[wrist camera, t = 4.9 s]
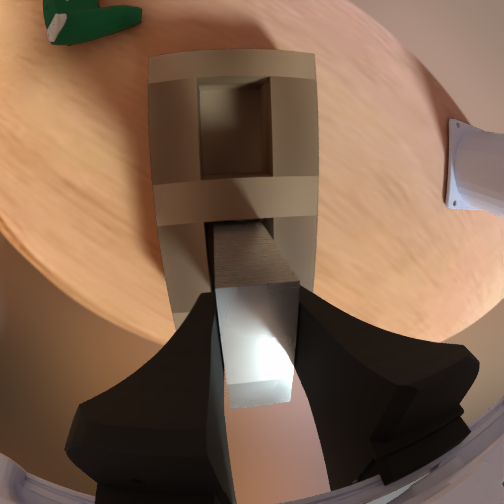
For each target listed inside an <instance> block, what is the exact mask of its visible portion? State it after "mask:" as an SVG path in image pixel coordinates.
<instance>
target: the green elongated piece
mask: <svg viewBox="0 0 504 504" xmlns="http://www.w3.org/2000/svg"><path fill="white" fill-rule="evenodd" d="M43 13H44V19H45V25H46V27H47V37H48V39H49V41H50V42H51V44H53V45H67V46H71V45H73V44H79V43H83V42H87V41H91V40H94V39H97V38H100V37H103V36H106V35H110V34H113V33H116V32H118V31H121V30H123V29H126V28H128V27H131V26H134V25H136V24H138V23H141V15H142V9H141V8H138V7H132V6H111V7H104V8H99V4H98V0H43Z"/></svg>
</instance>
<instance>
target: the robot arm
mask: <svg viewBox="0 0 504 504" xmlns="http://www.w3.org/2000/svg"><path fill="white" fill-rule="evenodd" d="M456 124H457V125H456ZM446 207H447V208H450V209H473V210H484V211H487V212H489V213H492V214H494V215H497V216H499V217H501V218H504V134H500V133H492V132H485V131H483V130H481V129H478V128H476V127H474V126H471V125H469V124H466V123H464V122H461V121H459V120H456V119H450V120H449V166H448V182H447V194H446ZM479 364H480V363H479V361H478V360H477V359H476V358H475V356H474V355H473V354H472V353H471V352H470V351H469V350H468V349H467V348H466V347H465V346H464V345H458V344H446V343H437V342H430V341H425V340H420V339H415V338H410V337H406V336H403V335H399V334H396V333H393V332H389V331H386V330H384V329H381V328H378V327H376V326H373V325H371V324H368V323H366V322H364V321H361V320H359V319H357V318H355V317H353V316H351V315H349V314H347V313H345V312H344V311H342V310H340V309H338V308H336V307H335V306H333V305H331V304H330V303H328V302H326V301H325V300H323V299H322V298H320V297H318V296H317V295H315V294H314V293H312V292H311V291H309V290H308V289H306V288H304V287H303V286H301V285H300V291H299V307H298V322H297V335H296V347H295V358H294V367H295V370H296V372H297V374H298V376H299V379H300V381H301V384H302V386H303V388H304V390H305V393H306V395H307V398H308V400H309V404H310V407H311V411H312V414H313V417H314V421H315V424H316V428H317V432H318V435H319V439H320V443H321V447H322V451H323V456H324V460H325V464H326V469H327V474H328V479H329V484H330V489H331V492H327V493H324V494H320V495H316V496H312V497H308V498H304V499H299V500H295V501H290V502H285V503H279V504H366V503H368V502H371V501H373V500H376V499H378V498H380V497H383V496H385V495H387V494H389V493H391V492H393V491H396V490H398V489H400V488H402V487H404V486H406V485H407V484H409V483H411V482H413V481H415V480H417V479H419V478H420V477H422V476H424V475H426V474H427V473H429V472H430V473H429V474H428V475H427V476H425V477H424V478H422V479H421V480H419V481H417V482H416V483H414V484H413V485H411V487H410V488H409V489H407V490H406V491H405V492H404V493H402V494H401V495H399V496H398V497H396V498H395V499H393V500H391V501H390V502H388V503H387V504H504V487H503V485H502V482H503V481H504V396H503V397H502V398H501V399H500V400H498V401H497V402H496V403H495V404H494V405H493V406H491V407H490V408H489V409H488V410H486V411H485V412H484V413H483V414H481V415H480V416H479V417H478V418H476V419H475V420H474V421H472V422H471V423H470V424H468V425H466V423H465V422H464V421H463V419H462V418H461V417H460V416H461V415H462V414H463V413H464V410H463V408H462V407H461V406H460V402H461V401H462V399H463V398H464V396H465V395H466V393H467V392H468V390H469V389H470V387H471V386H472V384H473V383H474V381H475V379H476V377H477V375H478V372H479ZM64 450H65V452H66V454H67V456H68V457H69V459H70V460H71V461H72V462H73V463H74V464H75V465H76V466H77V467H78V468H80V469H81V470H82V471H83V472H84V473H86V474H87V475H88V476H89V477H91V478H92V479H93V480H94V481H96V482H97V490H96V497H95V496H91V495H87V494H84V493H80V492H77V491H73V490H71V489H68V488H65V487H62V486H59V485H56V484H54V483H51V482H48V481H46V480H43V479H41V478H39V477H36V476H34V475H32V474H29V473H27V472H25V470H24V469H23V468H21V467H20V466H19V465H18V464H17V463H15V462H14V461H13V460H11V459H10V458H8V457H6V456H5V455H3V454H1V453H0V504H237V503H236V498H235V492H234V485H233V479H232V473H231V465H230V458H229V451H228V442H227V434H226V425H225V416H224V359H223V351H222V343H221V335H220V327H219V319H218V310H217V301H216V292H206V293H201V294H200V295H199V296H198V298H197V300H196V302H195V304H194V306H193V307H192V309H191V311H190V312H189V314H188V315H187V317H186V318H185V320H184V321H183V323H182V324H181V326H180V327H179V328H178V329H177V331H176V332H175V333H174V335H173V336H172V337H171V338H170V340H169V341H168V342H167V343H166V344H165V345H164V346H163V348H162V349H161V350H160V351H159V352H158V353H157V354H156V355H155V356H154V357H153V358H151V359H150V360H149V361H148V362H147V363H145V364H144V365H143V366H142V367H141V368H139V369H138V370H137V371H136V372H134V373H133V374H132V375H130V376H129V377H127V378H126V379H125V380H123V381H122V382H120V383H118V384H117V385H115V386H114V387H112V388H110V389H109V390H107V391H105V392H103V393H101V394H99V395H98V396H95V397H93V398H92V399H90V400H88V401H86V402H83V403H82V404H79V407H78V409H77V411H76V413H75V416H74V419H73V422H72V425H71V428H70V432H69V435H68V438H67V442H66V446H65V449H64Z"/></svg>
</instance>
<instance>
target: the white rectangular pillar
mask: <svg viewBox="0 0 504 504" xmlns="http://www.w3.org/2000/svg"><path fill="white" fill-rule="evenodd" d="M214 267H215V292H216V301H217V310H218V319H219V327H220V335H221V343H222V351H223V359H224V366H225V373H226V380H227V386H228V393H229V400H230V407H231V409H236V408H245V407H254V406H262V405H269V404H276V403H282V402H288V401H290V397H291V387H292V378H293V369H294V358H295V347H296V335H297V322H298V307H299V291H300V280H299V278H298V277H297V275H296V274H295V272H294V271H293V269H292V268H291V266H290V264H289V263H288V261H287V260H286V258H285V257H284V255H283V254H282V252H281V251H280V249H279V248H278V246H277V245H276V243H275V242H274V240H273V239H272V237H271V236H270V234H269V233H268V231H267V230H266V228H265V227H264V225H263V224H262V222H261V221H260V220H250V221H235V222H221V223H214Z"/></svg>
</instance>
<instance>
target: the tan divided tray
mask: <svg viewBox="0 0 504 504" xmlns="http://www.w3.org/2000/svg"><path fill="white" fill-rule="evenodd" d="M148 124H149V146H150V162H151V175H152V186H153V196H154V205H155V214H156V222H157V229H158V236H159V243H160V250H161V256H162V262H163V268H164V274H165V280H166V285H167V290H168V296H169V301H170V305H171V310H172V315H173V320H174V324H175V328H176V331H177V329H178V328H179V327H180V326H181V324H182V323H183V321H184V320H185V318H186V317H187V315H188V314H189V312H190V311H191V309H192V307H193V306H194V304H195V302H196V300H197V298H198V296H199V295H200V294H201V293H206V292H215V267H214V223H221V222H235V221H250V220H260V221H261V222H262V224H263V225H264V227H265V228H266V230H267V231H268V233H269V234H270V236H271V237H272V239H273V240H274V242H275V243H276V245H277V246H278V248H279V249H280V251H281V252H282V254H283V255H284V257H285V258H286V260H287V261H288V263H289V264H290V266H291V268H292V269H293V271H294V272H295V274H296V275H297V277H298V278H299V280H300V285H301V286H303V287H304V288H306V289H308V290H309V291H311V292H312V293H313V287H314V274H315V260H316V243H317V222H318V189H319V132H318V101H317V81H316V66H315V54H312V53H304V52H295V51H284V50H269V49H213V50H198V51H187V52H178V53H170V54H163V55H157V56H151V57H149V62H148Z"/></svg>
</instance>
